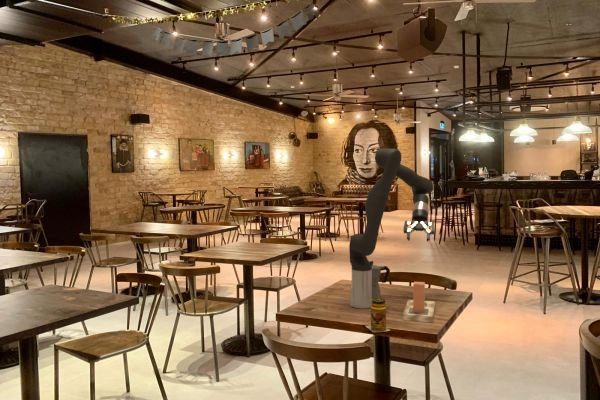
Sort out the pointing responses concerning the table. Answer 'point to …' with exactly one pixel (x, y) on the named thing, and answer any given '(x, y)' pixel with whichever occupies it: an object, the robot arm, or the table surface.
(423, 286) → the block
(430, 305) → the puzzle board
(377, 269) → the coffeepot
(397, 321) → the table surface
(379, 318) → the condiment
